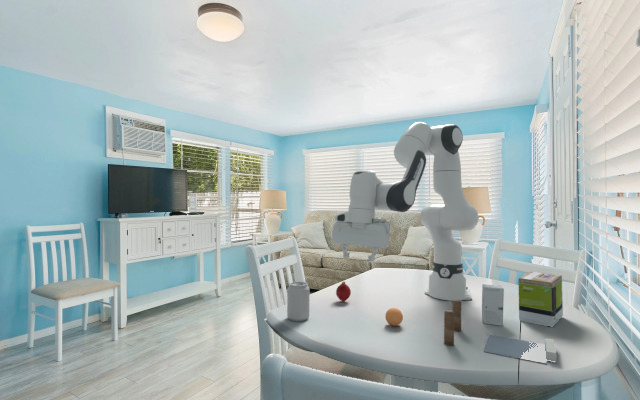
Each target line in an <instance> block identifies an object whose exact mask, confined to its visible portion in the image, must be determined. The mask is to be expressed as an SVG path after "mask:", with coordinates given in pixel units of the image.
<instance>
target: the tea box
mask: <svg viewBox="0 0 640 400" xmlns="http://www.w3.org/2000/svg"><path fill="white" fill-rule="evenodd" d="M563 303H564V302H563V275H560V274H552V273H544V272H536V271H534V272H533V271H530V272H528V273H527V274H526V273H525V274H524V275H522V276H520V277H519V278H518V320H519V322H520V321H521V322H524V321H525V323H529V322H530V324H533V323H535V324H534V325H538V324H539V326H542V325H544V326H543V327H547V326H550V327H549V328H553V327H554V326H555V325H557V323H558V322H559V321H560V320H561V319H562V318H563V317H564V311H563V310H564V307H563V305H564V304H563ZM562 316H563V317H562ZM561 317H562V318H561ZM560 318H561V319H560ZM559 319H560V320H559Z"/></svg>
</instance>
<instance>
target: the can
mask: <svg viewBox="0 0 640 400" xmlns="http://www.w3.org/2000/svg"><path fill="white" fill-rule="evenodd" d="M310 290H311V289H310V287H309V286H308V282H305V281H292V282H289V286H287V290H286V291H287V295H286V297H287V299H286V300H287V306H286V307H287V310H286V313H287V314H286V315H287V316H286V317H287V318H288V319H289V320H290V321H293V322H304V321H306V320H307V319H309V317H310V297H311V296H310V293H311V292H310Z"/></svg>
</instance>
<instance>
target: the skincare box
mask: <svg viewBox="0 0 640 400" xmlns="http://www.w3.org/2000/svg"><path fill="white" fill-rule="evenodd" d="M481 286H482V287H481V288H482V289H481V292H482V293H481V321H482V324H484V325H491V326H492V325H493V326H494V325H495V326H501V327H502V326H503V325H504V295H505V293H504V292H505V288H504V287H503V286H502V285H498V284H497V285H495V284H484V283H482V285H481Z"/></svg>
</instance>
